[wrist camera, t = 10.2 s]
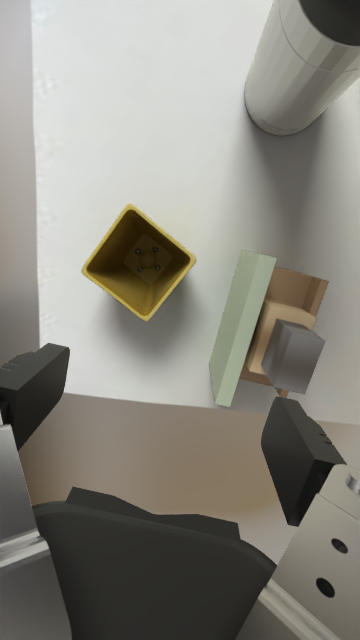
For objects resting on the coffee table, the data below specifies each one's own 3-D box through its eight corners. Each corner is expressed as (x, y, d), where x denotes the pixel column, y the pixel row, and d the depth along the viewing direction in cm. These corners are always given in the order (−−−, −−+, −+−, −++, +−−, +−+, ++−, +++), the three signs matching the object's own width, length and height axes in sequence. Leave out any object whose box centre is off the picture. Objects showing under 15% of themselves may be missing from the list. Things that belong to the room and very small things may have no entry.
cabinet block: (257, 295, 36) (286, 318, 25) (296, 305, 36) (340, 332, 25) (240, 350, 38) (259, 394, 27) (276, 360, 38) (310, 406, 27)
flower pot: (197, 254, 40) (198, 258, 31) (155, 306, 42) (146, 323, 33) (142, 209, 39) (128, 200, 30) (102, 264, 41) (78, 271, 32)
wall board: (241, 250, 40) (260, 253, 29) (306, 266, 40) (348, 276, 29) (209, 363, 44) (215, 403, 33) (268, 378, 44) (293, 422, 33)
